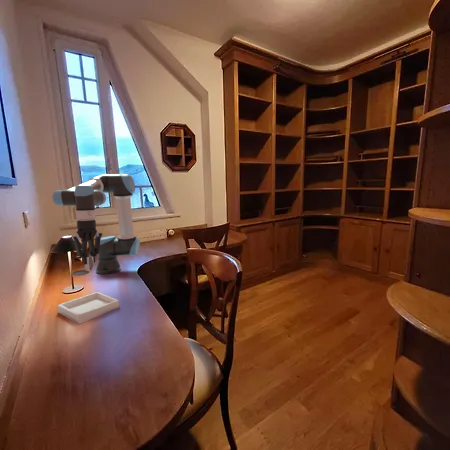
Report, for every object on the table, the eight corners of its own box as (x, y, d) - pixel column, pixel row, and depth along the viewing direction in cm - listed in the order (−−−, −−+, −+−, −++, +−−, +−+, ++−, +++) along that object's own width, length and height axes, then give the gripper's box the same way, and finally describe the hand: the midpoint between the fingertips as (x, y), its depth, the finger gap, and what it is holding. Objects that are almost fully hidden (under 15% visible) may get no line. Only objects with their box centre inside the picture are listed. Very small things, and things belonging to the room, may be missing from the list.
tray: (97, 298, 126) (97, 291, 126) (119, 307, 116) (118, 300, 116) (58, 312, 111) (57, 305, 111) (79, 324, 101) (78, 316, 101)
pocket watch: (69, 276, 110) (67, 254, 109) (80, 270, 119) (79, 249, 117) (88, 276, 110) (86, 254, 109) (97, 270, 119) (96, 249, 117)
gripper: (73, 221, 105) (77, 275, 108) (105, 218, 117) (108, 268, 120) (65, 220, 109) (69, 272, 112) (97, 218, 121) (100, 265, 124)
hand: (89, 270), depth 116 cm, fingers closed on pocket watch
